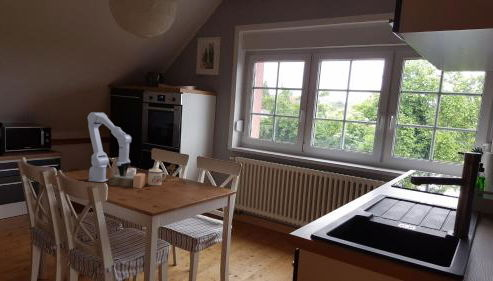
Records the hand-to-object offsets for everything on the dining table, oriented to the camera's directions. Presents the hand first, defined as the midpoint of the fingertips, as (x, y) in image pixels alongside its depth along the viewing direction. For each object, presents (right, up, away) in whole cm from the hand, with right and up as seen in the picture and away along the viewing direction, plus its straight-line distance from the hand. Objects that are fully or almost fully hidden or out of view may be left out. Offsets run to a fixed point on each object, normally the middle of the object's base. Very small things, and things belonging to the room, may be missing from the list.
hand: (122, 175), depth 218 cm
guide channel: (-1, -6, +1) cm, 6 cm away
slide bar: (+2, -4, 0) cm, 4 cm away
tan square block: (+10, -7, 0) cm, 12 cm away
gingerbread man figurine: (+26, -6, +24) cm, 35 cm away
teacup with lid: (+19, -7, +10) cm, 22 cm away
